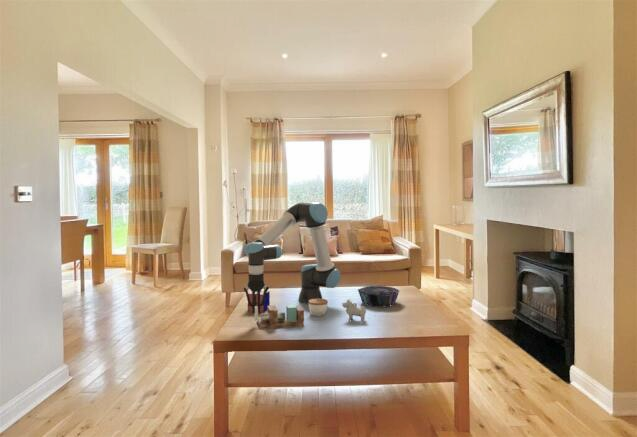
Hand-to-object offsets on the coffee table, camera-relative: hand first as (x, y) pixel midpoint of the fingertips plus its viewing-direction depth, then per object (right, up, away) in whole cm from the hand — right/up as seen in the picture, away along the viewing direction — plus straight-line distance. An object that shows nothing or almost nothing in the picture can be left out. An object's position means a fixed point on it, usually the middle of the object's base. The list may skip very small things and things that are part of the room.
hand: (256, 319), depth 197 cm
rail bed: (+12, -3, +3) cm, 13 cm away
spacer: (+18, -1, +5) cm, 18 cm away
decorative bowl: (+69, -2, +47) cm, 84 cm away
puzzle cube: (-3, -2, +31) cm, 32 cm away
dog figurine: (+50, -3, +10) cm, 51 cm away
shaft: (+8, -1, +2) cm, 9 cm away
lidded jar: (+31, -3, +21) cm, 37 cm away
